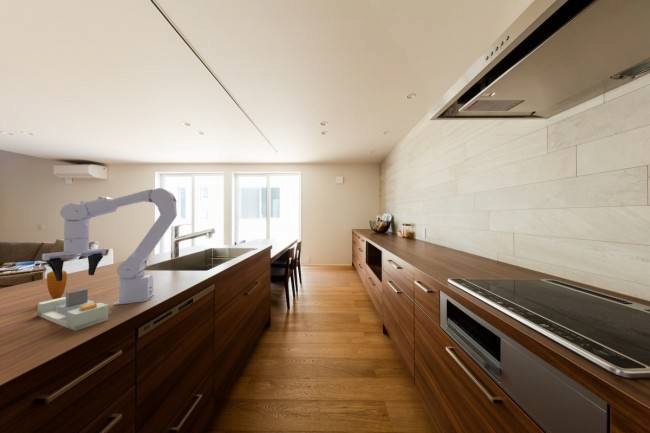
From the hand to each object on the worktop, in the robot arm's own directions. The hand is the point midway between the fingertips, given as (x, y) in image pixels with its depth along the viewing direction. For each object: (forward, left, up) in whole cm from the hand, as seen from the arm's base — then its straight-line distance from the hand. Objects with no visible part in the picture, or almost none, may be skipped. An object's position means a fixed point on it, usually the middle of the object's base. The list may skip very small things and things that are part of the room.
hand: (76, 277), depth 75 cm
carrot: (+11, -11, -11) cm, 19 cm away
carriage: (-6, +12, -8) cm, 16 cm away
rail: (-4, +10, -10) cm, 15 cm away
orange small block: (-11, +17, -9) cm, 22 cm away
